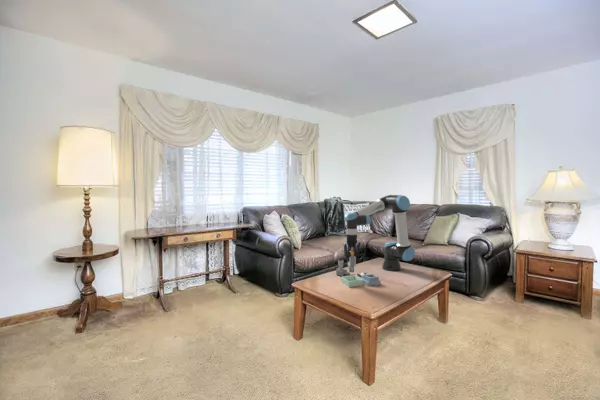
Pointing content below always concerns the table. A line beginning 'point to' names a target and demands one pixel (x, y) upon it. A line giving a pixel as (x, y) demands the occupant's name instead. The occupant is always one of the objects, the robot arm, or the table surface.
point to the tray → (351, 281)
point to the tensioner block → (369, 279)
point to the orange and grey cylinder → (351, 268)
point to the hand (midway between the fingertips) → (351, 265)
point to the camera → (342, 270)
